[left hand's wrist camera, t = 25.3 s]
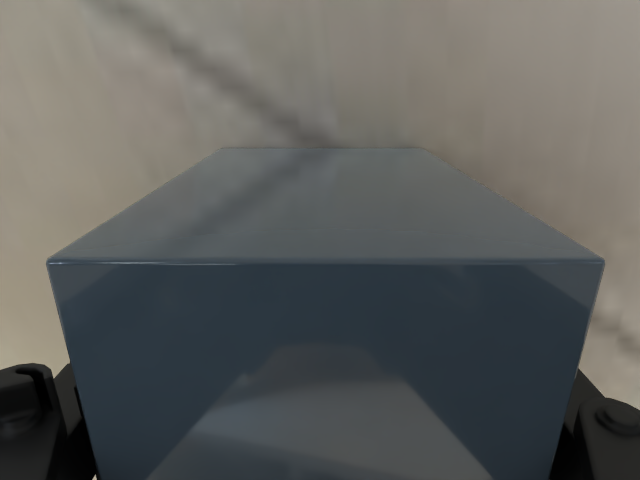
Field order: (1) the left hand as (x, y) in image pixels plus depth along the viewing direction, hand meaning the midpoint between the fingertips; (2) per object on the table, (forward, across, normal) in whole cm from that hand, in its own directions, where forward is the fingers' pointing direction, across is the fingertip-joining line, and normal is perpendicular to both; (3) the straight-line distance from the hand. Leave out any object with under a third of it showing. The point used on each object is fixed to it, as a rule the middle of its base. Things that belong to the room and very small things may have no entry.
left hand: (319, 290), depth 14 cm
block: (+3, 0, 0) cm, 3 cm away
